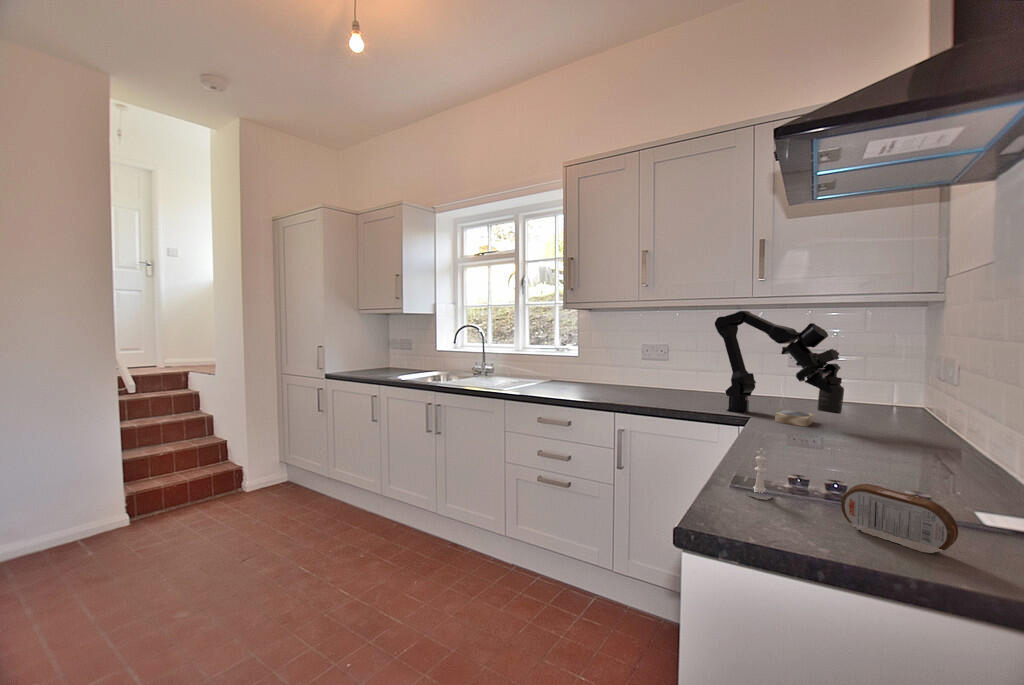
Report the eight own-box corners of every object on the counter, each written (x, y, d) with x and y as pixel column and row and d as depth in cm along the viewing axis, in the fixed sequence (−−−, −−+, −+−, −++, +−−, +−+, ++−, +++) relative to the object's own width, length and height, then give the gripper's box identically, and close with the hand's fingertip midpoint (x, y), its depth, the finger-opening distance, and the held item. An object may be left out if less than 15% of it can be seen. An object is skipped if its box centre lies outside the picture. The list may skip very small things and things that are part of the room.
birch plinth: (774, 421, 166) (775, 413, 166) (782, 417, 173) (782, 409, 173) (806, 426, 159) (807, 417, 159) (813, 422, 166) (813, 413, 166)
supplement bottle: (845, 415, 149) (850, 378, 149) (822, 411, 150) (827, 375, 151) (834, 412, 156) (838, 378, 156) (813, 409, 157) (817, 375, 157)
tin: (956, 558, 71) (960, 505, 71) (951, 564, 69) (955, 510, 69) (844, 522, 83) (846, 477, 83) (837, 526, 82) (839, 480, 81)
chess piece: (746, 489, 99) (748, 444, 98) (772, 494, 96) (774, 447, 96) (745, 497, 94) (747, 450, 94) (773, 502, 92) (775, 453, 92)
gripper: (807, 341, 151) (843, 379, 142) (835, 340, 160) (870, 375, 152) (782, 362, 158) (814, 399, 150) (810, 360, 168) (842, 395, 159)
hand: (836, 392), depth 152 cm, fingers closed on supplement bottle, 7 cm apart
